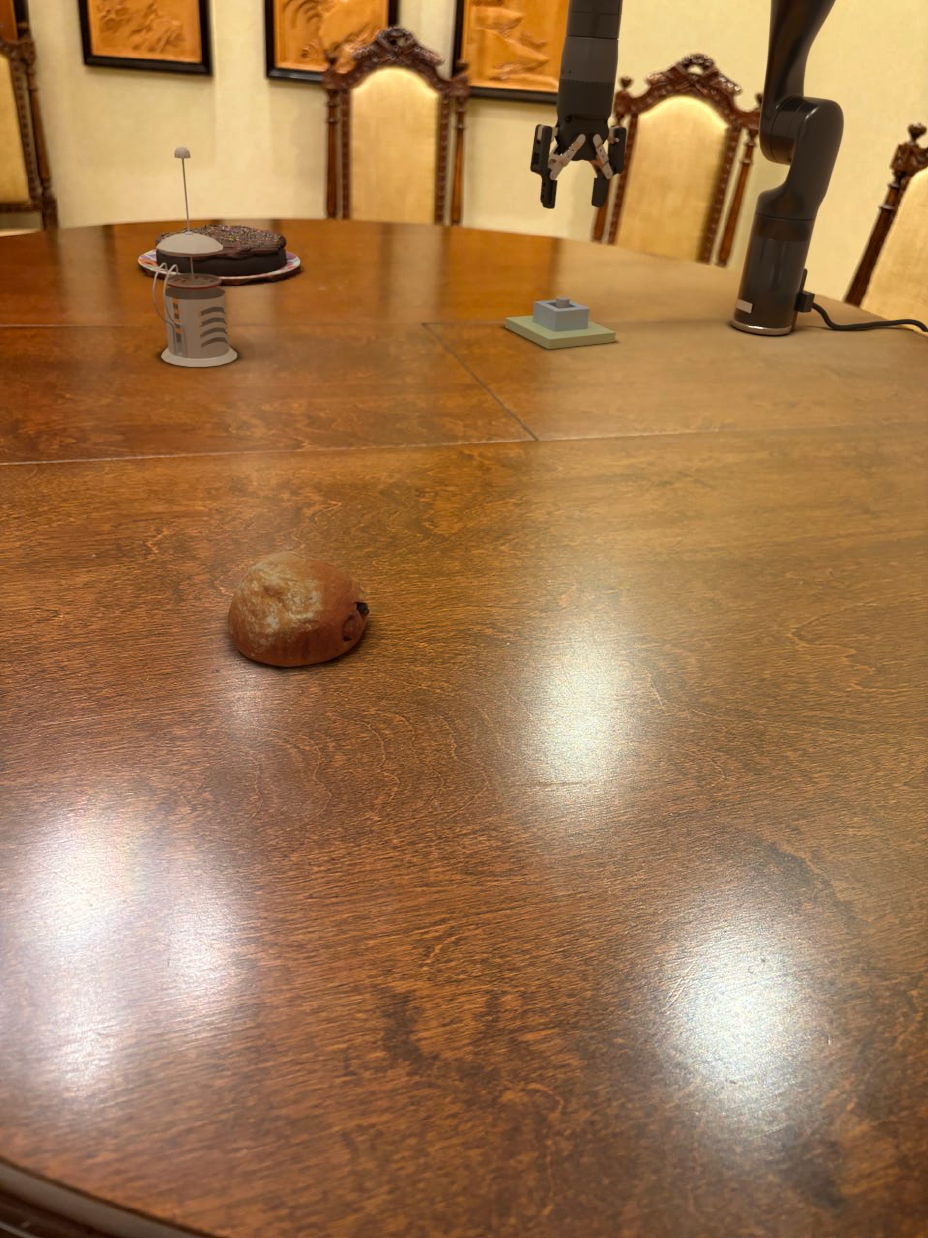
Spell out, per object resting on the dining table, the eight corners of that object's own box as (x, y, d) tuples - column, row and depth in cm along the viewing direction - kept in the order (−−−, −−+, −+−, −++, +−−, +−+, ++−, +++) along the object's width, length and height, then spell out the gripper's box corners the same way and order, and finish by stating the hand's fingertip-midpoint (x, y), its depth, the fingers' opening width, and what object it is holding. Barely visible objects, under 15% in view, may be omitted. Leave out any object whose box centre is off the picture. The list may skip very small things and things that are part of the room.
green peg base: (568, 321, 154) (573, 285, 151) (614, 342, 146) (619, 304, 143) (504, 327, 149) (507, 290, 146) (548, 349, 140) (552, 310, 137)
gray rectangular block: (564, 318, 150) (567, 298, 148) (587, 328, 146) (590, 308, 144) (532, 321, 147) (534, 301, 146) (554, 331, 143) (556, 311, 141)
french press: (252, 352, 130) (240, 147, 117) (197, 375, 121) (178, 155, 108) (193, 340, 134) (175, 139, 120) (135, 361, 125) (109, 146, 111)
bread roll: (264, 635, 79) (214, 556, 74) (379, 589, 77) (335, 506, 73) (251, 709, 70) (194, 625, 66) (380, 659, 69) (330, 570, 65)
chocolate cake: (103, 270, 164) (98, 229, 161) (201, 244, 187) (198, 207, 183) (245, 294, 156) (242, 252, 153) (329, 264, 179) (329, 226, 175)
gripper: (559, 77, 123) (546, 213, 132) (647, 80, 130) (629, 210, 138) (527, 72, 129) (516, 203, 137) (613, 76, 135) (597, 201, 144)
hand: (573, 207), depth 138 cm, fingers open, 8 cm apart
